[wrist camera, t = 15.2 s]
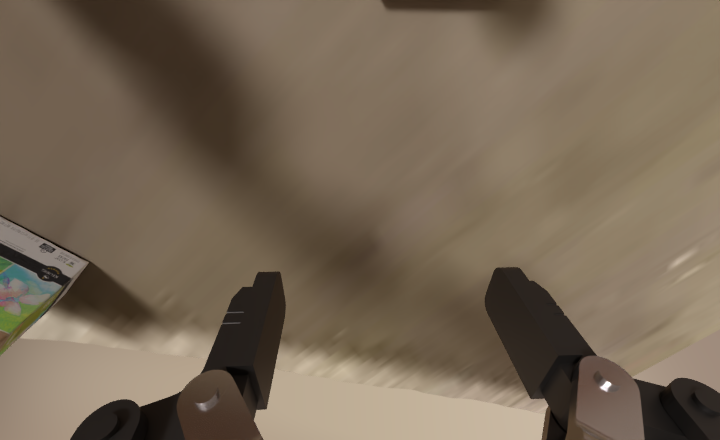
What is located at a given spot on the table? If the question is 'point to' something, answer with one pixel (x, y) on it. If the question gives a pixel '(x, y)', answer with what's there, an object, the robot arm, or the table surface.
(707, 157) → the table surface
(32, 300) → the tea box
